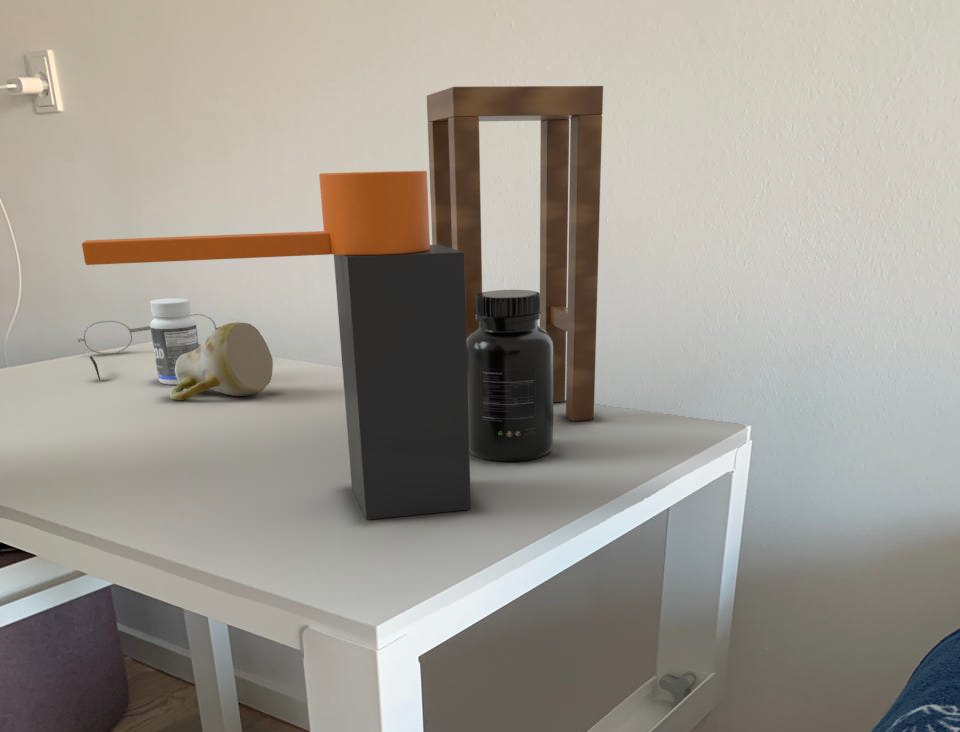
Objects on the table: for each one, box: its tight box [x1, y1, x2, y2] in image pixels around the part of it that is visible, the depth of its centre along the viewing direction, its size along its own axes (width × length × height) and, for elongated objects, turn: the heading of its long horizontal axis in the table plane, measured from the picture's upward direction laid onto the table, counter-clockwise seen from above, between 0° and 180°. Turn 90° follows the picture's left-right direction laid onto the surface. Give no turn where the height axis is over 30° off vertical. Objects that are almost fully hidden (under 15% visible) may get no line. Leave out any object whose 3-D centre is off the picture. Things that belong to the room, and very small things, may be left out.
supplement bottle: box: [466, 289, 554, 462], centre depth 77 cm, size 7×7×12 cm
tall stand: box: [426, 85, 604, 422], centre depth 86 cm, size 12×10×26 cm
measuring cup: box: [81, 170, 431, 266], centre depth 59 cm, size 20×6×4 cm, turn 104°
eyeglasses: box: [76, 313, 220, 381], centre depth 120 cm, size 18×19×4 cm
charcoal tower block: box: [333, 244, 472, 521], centre depth 65 cm, size 7×7×16 cm
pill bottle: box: [149, 297, 200, 386], centre depth 107 cm, size 5×5×8 cm
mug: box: [169, 321, 274, 401], centre depth 101 cm, size 8×10×10 cm
